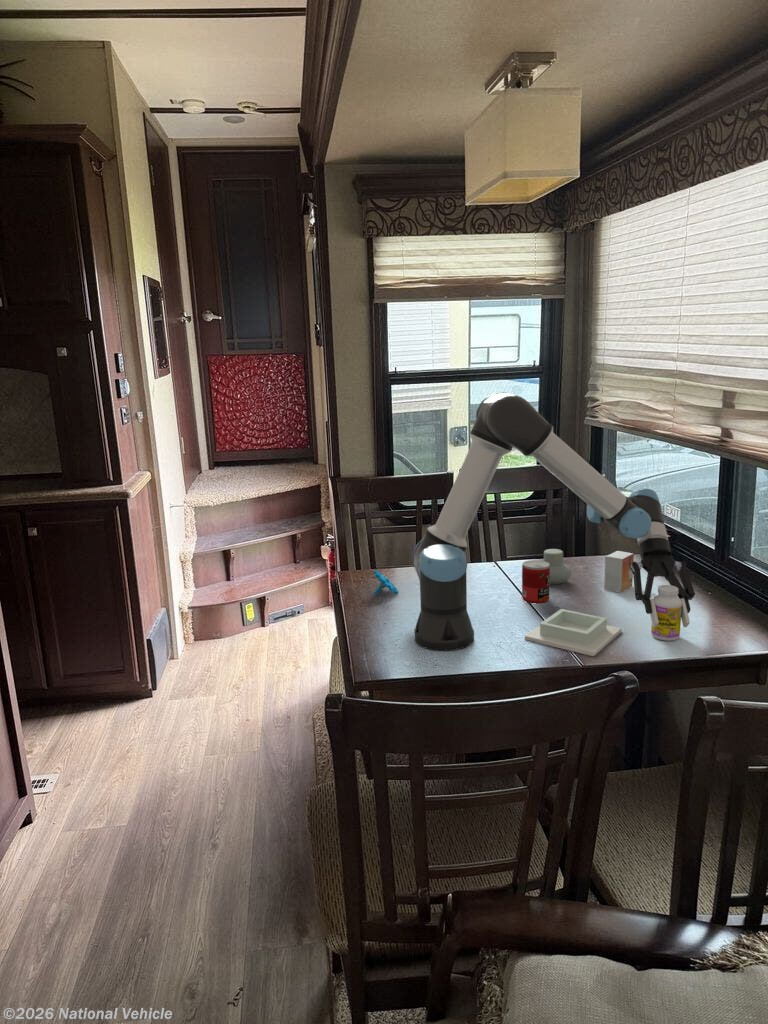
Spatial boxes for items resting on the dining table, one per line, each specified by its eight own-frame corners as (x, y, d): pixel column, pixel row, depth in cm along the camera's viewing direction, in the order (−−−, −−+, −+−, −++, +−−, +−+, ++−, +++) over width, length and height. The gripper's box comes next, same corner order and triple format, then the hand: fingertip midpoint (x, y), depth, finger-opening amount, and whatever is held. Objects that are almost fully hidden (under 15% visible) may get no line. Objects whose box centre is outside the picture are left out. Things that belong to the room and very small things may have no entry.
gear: (400, 594, 206) (375, 571, 205) (386, 608, 206) (362, 585, 206) (400, 587, 217) (376, 565, 216) (387, 600, 217) (364, 579, 217)
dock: (593, 656, 162) (594, 640, 162) (524, 639, 173) (524, 624, 173) (621, 631, 176) (622, 617, 175) (555, 617, 187) (556, 603, 186)
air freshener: (531, 579, 220) (531, 549, 218) (551, 575, 224) (551, 545, 221) (554, 588, 210) (555, 557, 208) (575, 583, 214) (575, 553, 212)
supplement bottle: (649, 639, 171) (651, 590, 168) (652, 629, 177) (655, 582, 174) (678, 643, 168) (681, 593, 165) (681, 633, 173) (683, 585, 171)
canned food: (542, 606, 196) (543, 569, 194) (517, 601, 201) (517, 565, 199) (553, 598, 202) (554, 562, 200) (528, 593, 207) (529, 558, 204)
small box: (621, 593, 204) (622, 559, 202) (603, 589, 208) (604, 555, 206) (633, 586, 210) (634, 553, 208) (615, 582, 214) (616, 550, 211)
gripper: (687, 549, 182) (707, 630, 170) (612, 550, 184) (626, 631, 172) (696, 535, 176) (717, 618, 164) (618, 536, 178) (633, 619, 165)
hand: (671, 625), depth 168 cm, fingers closed on supplement bottle, 7 cm apart
